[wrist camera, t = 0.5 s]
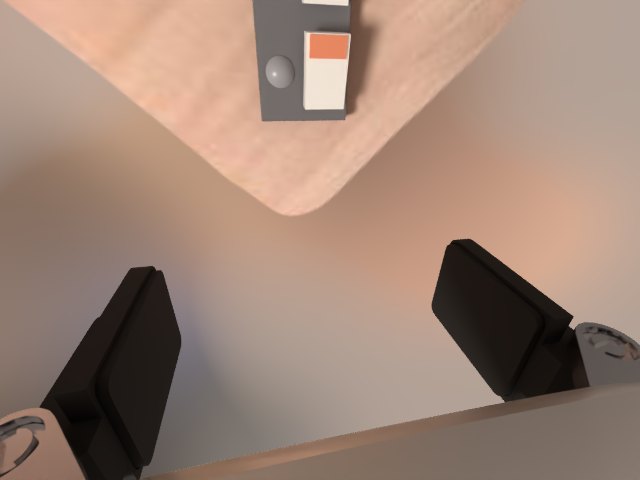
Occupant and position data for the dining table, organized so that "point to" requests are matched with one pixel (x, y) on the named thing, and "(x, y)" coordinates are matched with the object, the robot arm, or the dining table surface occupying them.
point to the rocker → (325, 69)
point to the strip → (291, 55)
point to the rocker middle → (327, 2)
